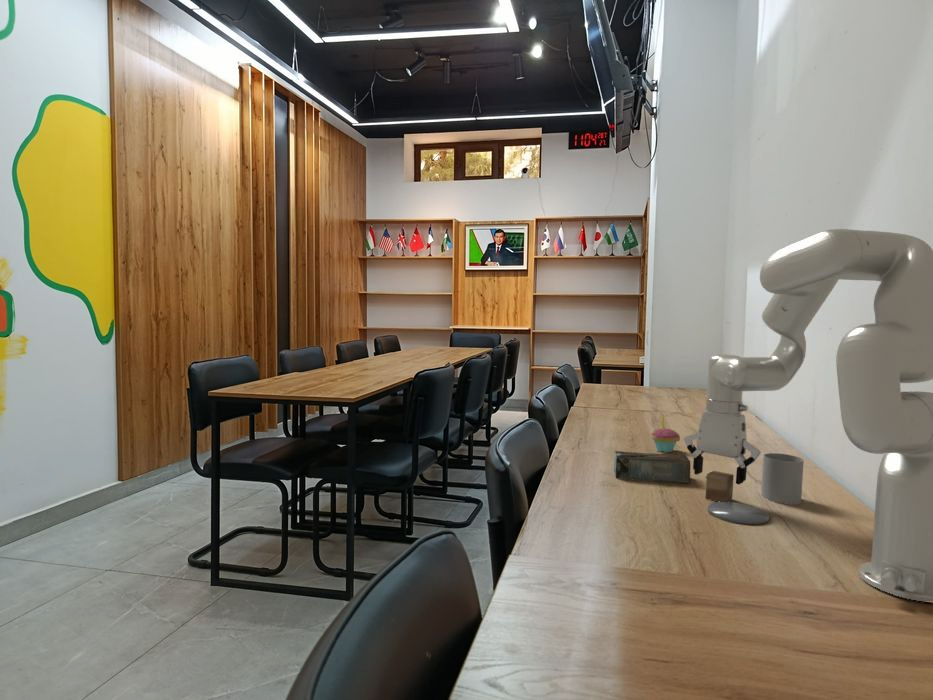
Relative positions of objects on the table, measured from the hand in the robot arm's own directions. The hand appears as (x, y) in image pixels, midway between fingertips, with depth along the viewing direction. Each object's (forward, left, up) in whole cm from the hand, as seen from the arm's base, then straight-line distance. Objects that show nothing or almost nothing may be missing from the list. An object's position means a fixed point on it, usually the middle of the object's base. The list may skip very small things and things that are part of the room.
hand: (718, 478), depth 134 cm
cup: (+12, -10, -5) cm, 17 cm away
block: (0, 0, -5) cm, 5 cm away
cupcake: (+37, +31, -5) cm, 48 cm away
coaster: (-8, -7, -5) cm, 12 cm away
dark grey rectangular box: (+4, +19, -5) cm, 20 cm away
